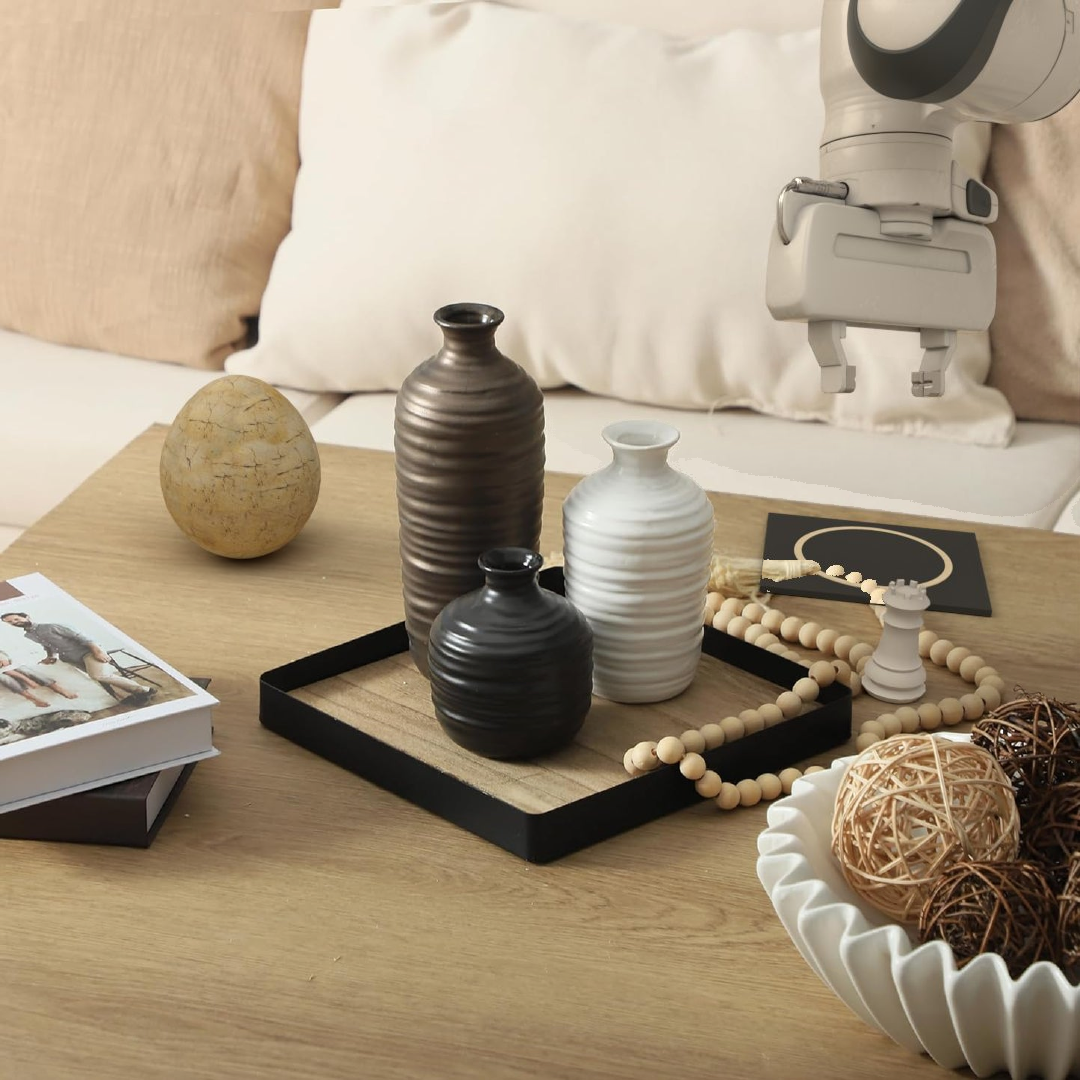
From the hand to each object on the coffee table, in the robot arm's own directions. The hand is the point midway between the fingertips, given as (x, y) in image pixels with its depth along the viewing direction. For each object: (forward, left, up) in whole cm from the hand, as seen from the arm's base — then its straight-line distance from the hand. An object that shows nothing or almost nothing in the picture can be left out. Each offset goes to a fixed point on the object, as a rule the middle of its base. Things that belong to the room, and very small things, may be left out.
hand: (884, 395), depth 101 cm
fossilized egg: (+49, -6, -20) cm, 53 cm away
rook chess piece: (-3, +5, -20) cm, 21 cm away
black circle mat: (-2, -17, -20) cm, 26 cm away
